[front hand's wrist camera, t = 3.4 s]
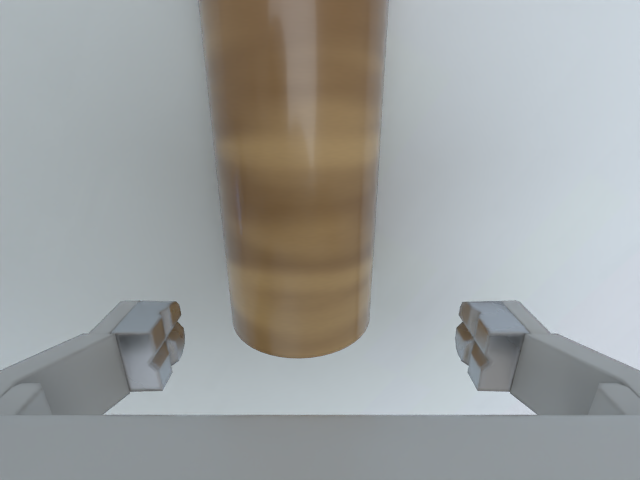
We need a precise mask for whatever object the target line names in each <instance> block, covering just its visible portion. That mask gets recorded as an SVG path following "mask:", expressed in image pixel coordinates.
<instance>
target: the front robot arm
mask: <svg viewBox="0 0 640 480" xmlns="http://www.w3.org/2000/svg"><path fill="white" fill-rule="evenodd" d="M180 316H181V311H180V306H179V304H178V303H177V302H176V301H122V302H120V303H119V304H118V305H117V306H116V307H115V308H114V309H113V310H112V311H111V312H110V313H109V314H108V315H107V316H106V317H105V318H104V319H103V320H102V321H101V322H100V323H99V324H98V325H97V326H96V327H95V328H94V329H93V330H92V331H91V332H90V333H89V334H81V335H79V336H77V337H74V338H72V339H70V340H68V341H65V342H63V343H61V344H59V345H56V346H54V347H52V348H50V349H48V350H45V351H43V352H41V353H39V354H36V355H34V356H32V357H30V358H27V359H25V360H23V361H21V362H18V363H16V364H14V365H12V366H9V367H7V368H5V369H3V370H0V480H640V371H639V370H637V369H635V368H633V367H630V366H628V365H626V364H624V363H621V362H619V361H617V360H615V359H613V358H610V357H608V356H606V355H604V354H601V353H599V352H597V351H595V350H592V349H590V348H588V347H586V346H583V345H581V344H579V343H577V342H575V341H572V340H570V339H568V338H566V337H563V336H561V335H559V334H551V333H550V332H549V331H548V330H547V329H546V328H545V327H544V326H543V325H542V324H541V323H540V322H539V321H538V320H537V319H536V318H535V317H534V316H533V315H532V314H531V313H530V312H529V311H528V310H527V309H526V308H525V307H524V306H523V305H522V304H521V303H520V302H518V301H516V300H514V301H482V302H462V304H461V306H460V311H459V316H460V318H461V319H462V321H463V322H462V323H461V324H460V325H459V326H458V327H457V328H456V336H455V341H456V349H457V352H458V355H459V357H460V359H461V361H462V362H464V363H465V364H467V365H468V366H469V368H468V374H469V376H470V378H471V380H472V381H473V383H474V385H475V387H476V389H477V390H478V391H506V392H510V393H511V394H512V395H513V396H514V397H516V398H517V399H518V400H519V401H521V402H522V403H523V404H525V405H526V406H527V407H528V408H530V409H531V410H532V411H533V412H535V413H536V414H537V415H103V414H104V413H105V412H107V411H108V410H109V409H110V408H112V407H113V406H114V405H116V404H117V403H118V402H119V401H121V400H122V399H123V398H124V397H126V396H127V395H128V394H130V392H134V391H163V389H164V387H165V385H166V383H167V381H168V380H169V378H170V376H171V374H172V368H171V366H172V365H173V364H175V363H176V362H178V361H179V359H180V357H181V355H182V353H183V348H184V344H185V334H184V328H183V327H182V326H181V325H180V324H179V323H178V322H177V321H178V319H179V318H180Z"/></svg>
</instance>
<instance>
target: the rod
mask: <svg viewBox="0 0 640 480" xmlns="http://www.w3.org/2000/svg"><path fill="white" fill-rule="evenodd" d="M198 2H199V11H200V20H201V29H202V39H203V48H204V57H205V67H206V76H207V85H208V95H209V104H210V113H211V123H212V132H213V141H214V151H215V160H216V169H217V179H218V188H219V197H220V207H221V216H222V225H223V235H224V244H225V253H226V263H227V272H228V281H229V291H230V300H231V309H232V319H233V325H234V329H235V331H236V333H237V335H238V336H239V337H240V338H241V340H242V341H244V342H245V343H246V344H247V345H249V346H250V347H252V348H254V349H256V350H258V351H260V352H263V353H266V354H269V355H273V356H278V357H285V358H312V357H318V356H323V355H327V354H331V353H334V352H337V351H340V350H342V349H344V348H346V347H348V346H349V345H351V344H352V343H354V342H355V341H356V340H358V339H359V338H360V337H361V336H362V334H363V333H364V332H365V330H366V328H367V327H368V323H369V317H370V300H371V284H372V267H373V251H374V234H375V218H376V201H377V185H378V168H379V152H380V135H381V119H382V102H383V86H384V69H385V53H386V36H387V19H388V3H389V0H198Z"/></svg>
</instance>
